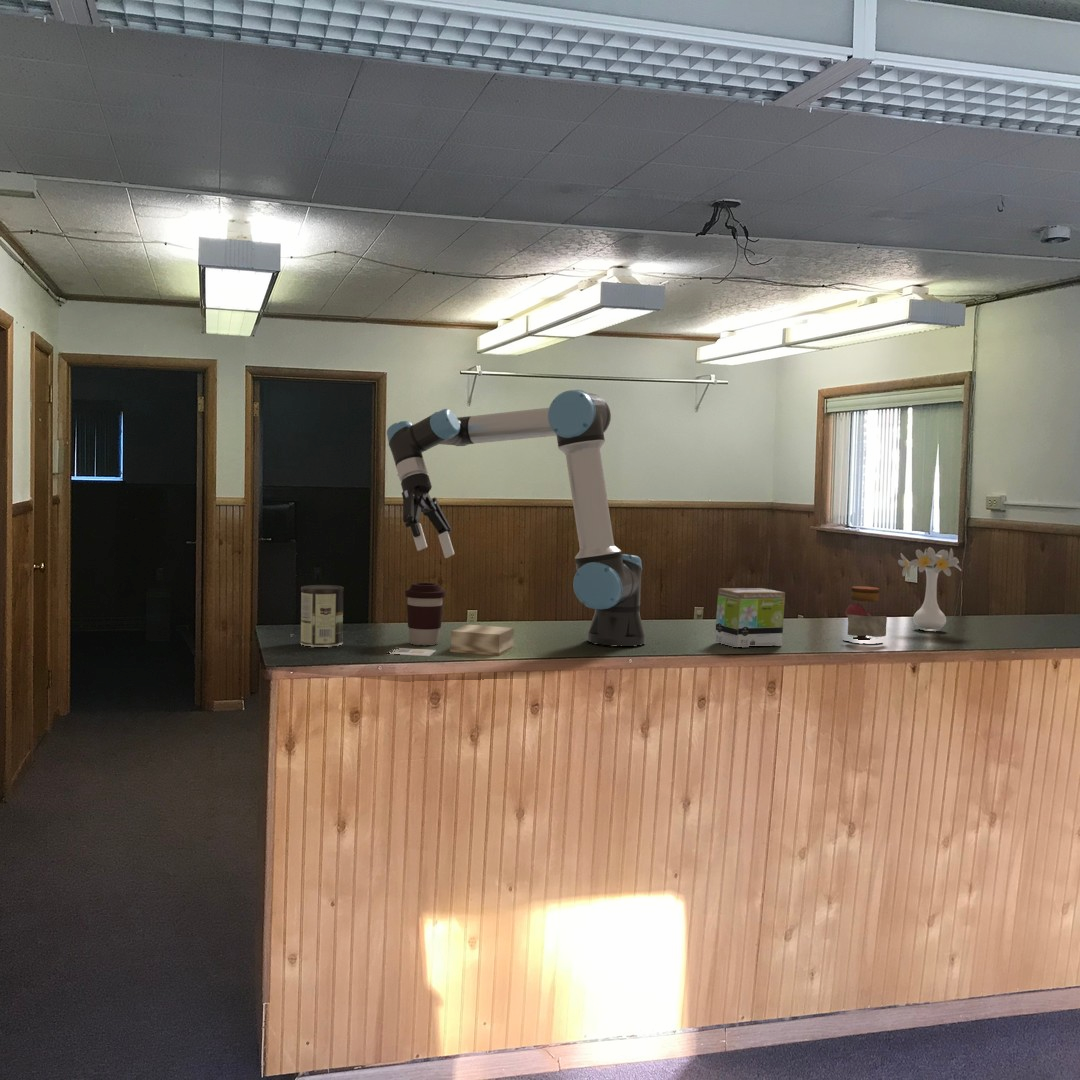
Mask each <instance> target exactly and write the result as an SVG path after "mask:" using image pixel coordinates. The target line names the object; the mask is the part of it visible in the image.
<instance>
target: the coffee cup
mask: <svg viewBox="0 0 1080 1080" xmlns="http://www.w3.org/2000/svg"><path fill="white" fill-rule="evenodd" d="M404 596H405V597H406V598H407V604H406V612H407V613H406V614H407V615H406V616H407V627H408V641H409V644H411V645H412V644H413V646H419V645H423V646H422V647H424V646H425V647H427V646H426V645H431V646H436V645H438V644H439V641H440V630H441V627H442V618H443V608H444V605H443V600H444V599H443V598H445V597H446V590H444V589H441V586H440V584H439V583H434V582H413V583H411V585H410V588H407V589H405V590H404ZM435 644H436V645H435Z"/></svg>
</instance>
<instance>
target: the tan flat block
mask: <svg viewBox="0 0 1080 1080" xmlns="http://www.w3.org/2000/svg"><path fill="white" fill-rule="evenodd" d="M514 629H515V628H514V627H507V626H506V627H505V626H494V625H493V626H492V625H481V624H480V625H477V624H466V625H462V626H460V627H458V628H456V629H453V630H451V633H450V634H451V639H450V643H451V644H450V649H449V653H450V652H451V653H460V654H473V655H485V656H496V657H498V656H502V655H504V654H505V652H506V653H507V652H509V651H511V650H513V649H515V645H514V637H515V635H514V634H515V630H514ZM512 648H513V649H512ZM510 649H511V650H510ZM508 650H509V651H508ZM503 653H504V654H503Z"/></svg>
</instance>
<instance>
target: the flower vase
mask: <svg viewBox="0 0 1080 1080" xmlns="http://www.w3.org/2000/svg"><path fill="white" fill-rule="evenodd" d="M915 555H916V558H917V559H912V560H911V561H909V560H908V559H907V558H906V557H905V555H904V554H903V553H902V552H900V558H901V559H898V560H897V562H898V565H899V566H900V567H903V568H902V573H901V574H902V577H905V576H906V574H907V577H908V578H909V577H910V573H911V569H912V570H913V569H916V568H918V572H919V573H923V572H924V571H925V575H926V576H925V577H926V583H925V585H926V586H925V593H924V594H925V595H924V598H923V599H924V600H923V603H922V605H921V606H920V608H919V609H918V610H917V611H916V612H915V613H914V615H913V618H912V621H913V623H914V624H915V625H916V626H918V627H920V628H925V629H941V628H942V627H944V626H945V625H946V623H947V617H946V615H945V613H944V612H943V611H942V610H941V609H940V607H939V603H938V599H937V597H938V595H937V593H938V591H937V586H938V577H939V573H940V572H941V571H942V572H943V573H944V574H945V575H946V576H948V577H951V576H952V570H951V569H950V568H951V567H954V568H957V569H958V570H959V571H960V572H962V569H961V566H960V565H958V564H960V561H959V559H958V557H956V556H955V557H954V550H953V548H952V547H950V550H949V551H948V550H945V549H941V550H939V551H938V552H937V553H936V551H935V550H934V548H932V547H930V546H929V547H928V548H927V549H924V552H923V551H922V550H920V549H916V550H915ZM911 567H912V568H911Z"/></svg>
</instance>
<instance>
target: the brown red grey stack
mask: <svg viewBox="0 0 1080 1080" xmlns="http://www.w3.org/2000/svg"><path fill="white" fill-rule="evenodd" d="M850 591H851V592H850V593H851V594H850V600H852V601H858V602H873V603H874V602H879V601H880V588H878V587H875V586H874V587H873V586H863V585H862V586H860V585H858V586H857V585H855V586H851V590H850ZM844 613H845V616H846V617H847V635H849V636H851V637H853V639H858V640H870V638H881V637H886V636H887V621H888V620H887V618H888V616H887V615H883V616H882V615H880V616H879V615H877V616H876V615H875V616H873V615H871V614H870V613H868V611H867V610H866V609H865V608H864V607H863V606H862V605H861V604H859V603H851V604H850V605H848V607H847V608H846V610H845V612H844ZM867 637H869V638H867Z"/></svg>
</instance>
